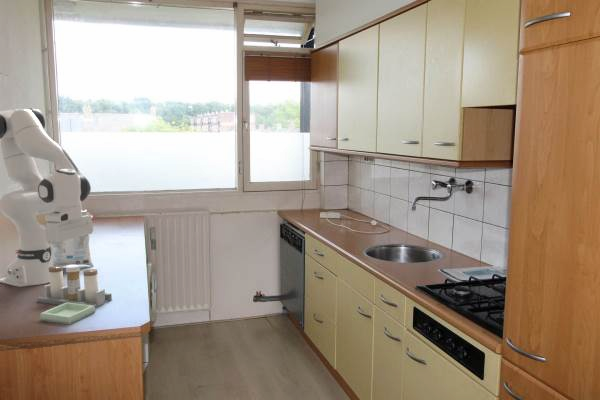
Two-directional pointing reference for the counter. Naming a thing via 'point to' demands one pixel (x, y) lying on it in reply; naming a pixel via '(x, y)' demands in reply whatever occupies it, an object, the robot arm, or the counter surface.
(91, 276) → the right jar
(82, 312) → the tray
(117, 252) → the counter surface
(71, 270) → the sprinkles bottle
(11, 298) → the counter surface
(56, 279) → the left jar
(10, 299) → the counter surface
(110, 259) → the counter surface
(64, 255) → the pouch
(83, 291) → the spice rack
